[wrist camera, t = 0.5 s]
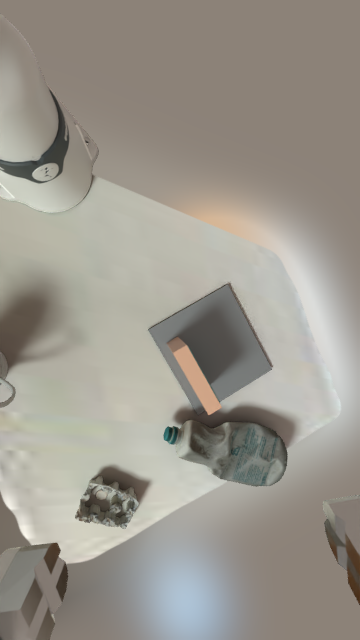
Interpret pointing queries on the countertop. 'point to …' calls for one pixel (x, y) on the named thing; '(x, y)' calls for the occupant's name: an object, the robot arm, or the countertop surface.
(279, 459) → the detergent
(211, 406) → the tile
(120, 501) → the egg carton
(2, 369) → the glass holder
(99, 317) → the countertop surface
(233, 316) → the mat
